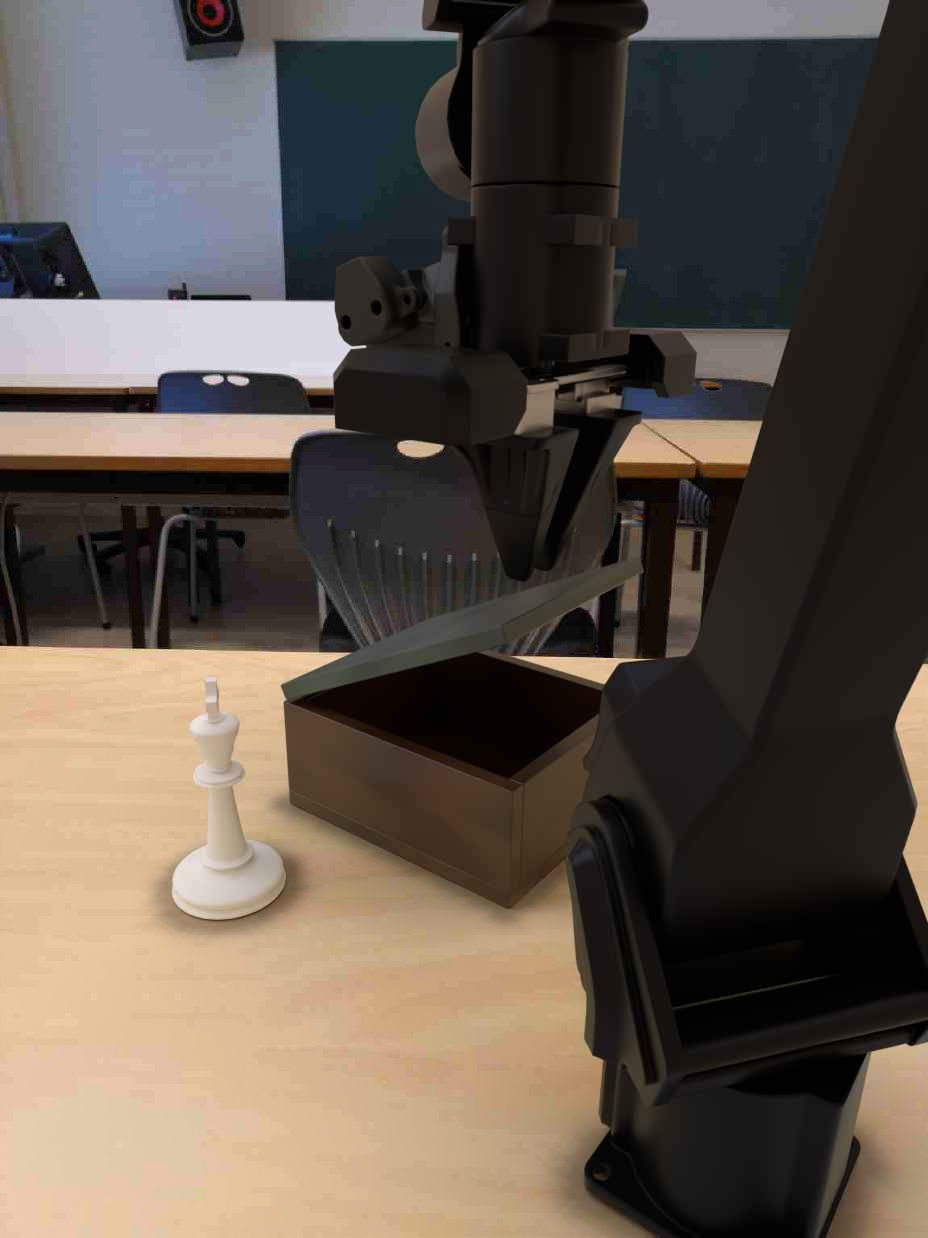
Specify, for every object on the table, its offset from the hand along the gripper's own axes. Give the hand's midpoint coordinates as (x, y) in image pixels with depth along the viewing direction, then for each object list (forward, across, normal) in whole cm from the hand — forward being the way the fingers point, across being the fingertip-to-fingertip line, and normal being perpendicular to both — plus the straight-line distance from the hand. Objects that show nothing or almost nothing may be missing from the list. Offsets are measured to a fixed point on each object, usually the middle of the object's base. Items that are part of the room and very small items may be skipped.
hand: (529, 574), depth 42 cm
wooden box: (+13, 0, -4) cm, 13 cm away
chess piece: (+13, +12, -8) cm, 19 cm away
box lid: (+4, 0, -4) cm, 5 cm away
